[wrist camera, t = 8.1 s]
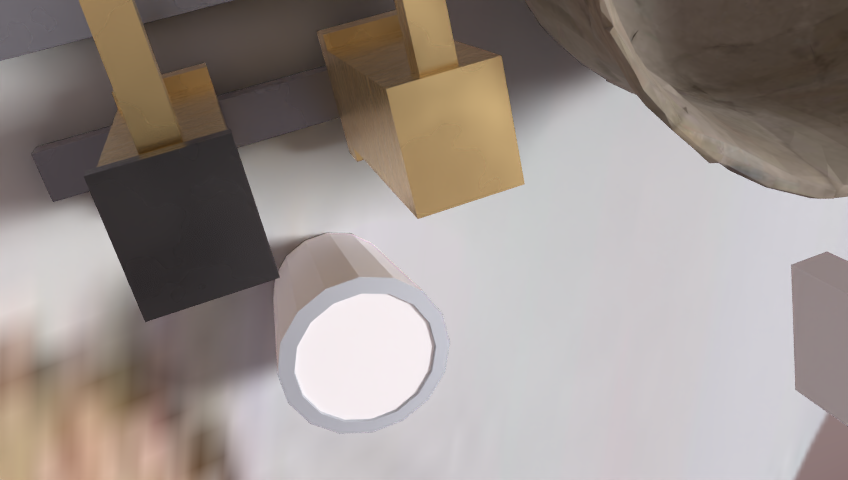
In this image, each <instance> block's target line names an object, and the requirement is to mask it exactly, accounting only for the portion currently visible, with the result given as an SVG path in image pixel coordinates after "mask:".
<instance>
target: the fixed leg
mask: <svg viewBox="0 0 848 480" xmlns="http://www.w3.org/2000/svg"><path fill="white" fill-rule="evenodd" d="M394 2H395V7H396V10H393V11H389V12H385V13H382V14H378V15H374V16H371V17H367V18H363V19H360V20H356V21H352V22H349V23H345V24H341V25H338V26H334V27H330V28H327V29H323V30H319V31H317V35H318V38H319V42H320V46H321V49H322V53H323V57H324V60H325V64H326V68H327V71H328V75H329V79H330V82H331V86H332V89H333V93H334V97H335V100H336V104H337V108H338V111H339V115H340V119H341V122H342V126H343V130H344V133H345V137H346V141H347V144H348V148H349V152H350V154H351V155H352V156H353V157H354V158H355V160H356V161H357V162H358V161H361V160H365V161H366V162H367V163H368V164H369V166H370V167H371V168H372V169H373V170H374V171H375V172H376V173H377V174H378V175H379V177H380V178H381V179H382V180H383V181H384V182H385V183H386V184H387V185H388V187H389V188H390V189H391V190H392V191H393V192H394V193H395V194H396V195H397V196H398V198H399V199H400V200H401V201H402V202H403V203H404V204H405V205H406V206H407V208H408V209H409V210H410V211H411V212H412V213H413V214H414V215H415V216H416V217H417V219H419V218H422V217H425V216H428V215H431V214H434V213H437V212H440V211H444V210H447V209H450V208H453V207H456V206H459V205H462V204H465V203H468V202H471V201H474V200H477V199H480V198H483V197H486V196H490V195H493V194H496V193H499V192H502V191H505V190H508V189H511V188H514V187H517V186H520V185H523V184H524V178H523V173H522V167H521V162H520V156H519V150H518V145H517V139H516V134H515V128H514V123H513V117H512V112H511V106H510V101H509V95H508V89H507V84H506V78H505V73H504V67H503V62H502V56H501V55H498V54H495V53H492V52H489V51H486V50H483V49H480V48H477V47H474V46H470V45H467V44H464V43H461V42H458V41H455V40H453V35H452V30H451V25H450V20H449V15H448V10H447V5H446V0H394Z"/></svg>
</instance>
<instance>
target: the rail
mask: <svg viewBox="0 0 848 480" xmlns="http://www.w3.org/2000/svg"><path fill="white" fill-rule="evenodd" d="M217 99H218V102H219V105H220V108H221V111H222V114H223V117H224V120H225V123H226V126H227V129H231V132H232V135H233V138H234V141H235V144H236V147H237V148H238V147H241V146H244V145H248V144H251V143H255V142H258V141H261V140H265V139H268V138H272V137H275V136H278V135H282V134H285V133H289V132H292V131H295V130H299V129H302V128H305V127H309V126H312V125H316V124H319V123H322V122H326V121H329V120H333V119H336V118H339V117H340V115H339V111H338V108H337V104H336V100H335V97H334V93H333V89H332V86H331V82H330V79H329V75H328V71H327V68H326V66H322V67H319V68H315V69H312V70H308V71H305V72H301V73H297V74H294V75H290V76H287V77H283V78H280V79H276V80H273V81H269V82H265V83H262V84H258V85H255V86H251V87H248V88H244V89H241V90H237V91H233V92H230V93H226V94H223V95H219V96H217ZM110 129H111V126H109V127H105V128H102V129H98V130H95V131H91V132H88V133H84V134H81V135H77V136H73V137H70V138H66V139H63V140H59V141H56V142H52V143H49V144H45V145H41V146H38V147H36V148H35V150H34V151H33V153H32V157H33V159H34V161H35V163H36V165H37V168H38V170H39V172H40V174H41V177H42V179H43V181H44V183H45V186H46V188H47V190H48V192H49V194H50V197H51V199H52V201H53V202H55V201H58V200H61V199H65V198H68V197H72V196H75V195H78V194H82V193H85V192H89V191H90V190H89V188H88V186H87V183H86V181H85V179H84V174H85V172H86V170H89V169H93V168H96V167H97V165H98V162H99V159H100V157H101V154H102V151H103V148H104V145H105V143H106V140H107V137H108V134H109V132H110Z"/></svg>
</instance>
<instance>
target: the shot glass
mask: <svg viewBox="0 0 848 480" xmlns="http://www.w3.org/2000/svg"><path fill="white" fill-rule="evenodd" d="M278 273H279V276H280V278H277V279H275V284H274V295H273V305H274V323H275V340H276V358H277V375H278V377H279V380H280V383H281V385H282V388H283V391H284V393H285V396H286V399H287V401H288V403H289V404H290V405H291V406H292V407H293V408H294V409H295V410H296V411H297V412H298V413H299V414H301V415H302V416H303V417H304V418H305V419H306V420H307V421H308V422H309V423H310V424H313V425H316V426H319V427H322V428H325V429H328V430H331V431H333V432H336V433H339V434H344V433H369V432H375V431H377V430H380V429H382V428H385V427H387V426H390V425H393V424H395V423H398V422H400V421H403V420H404V419H406V418H407V417H408V416H409V415H410V414H412V413H413V412H414V411H415V410H416V409H418V408H419V407H420V406H421V405H422V404H424V403H425V402H426V401H427V400H428V399H429V398H430V396H431V395H432V393H433V391H434V390H435V388H436V386H437V385H438V383H439V381H440V380H441V378H442V376H443V375H444V373H445V369H446V363H447V358H448V352H449V346H450V340H449V336H448V332H447V328H446V325H445V321H444V317H443V314H442V312H441V311H440V310H439V309H438V308H437V307H436V305H435V304H434V303H433V302H432V301H431V300H430V298H429V297H428V296H427V295H426V294H425V293H424V291H423V290H422V289H421V288H419V287H418V286H417V285H416V284H415V283H414V282H413V281H412V280H411V279H410V278H409V277H408V276H407V275H406V274H405V273H404V272H402V271H401V270H400V269H399V268H398V267H397V266H396V265H395V264H394V263H393V262H392V261H391V260H390V259H389V258H388V257H387V256H385V255H384V254H383V253H382V252H381V251H380V250H379V249H378V248H377V247H376V246H375V245H374V244H373V243H371V242H369V241H367V240H365V239H362V238H360V237H358V236H356V235H354V234H349V233H326V234H323V235H320V236H317V237H314V238H311V239H308V240H305V241H304V242H303V243H301V244H300V245H299V246H298V247H297V248H295V249H294V250H293V251H292V252H291V253H289V254H288V255H287V256H286V258H285V259H284V261H283V263H282V265H281V267H280V269H279V270H278Z"/></svg>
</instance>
